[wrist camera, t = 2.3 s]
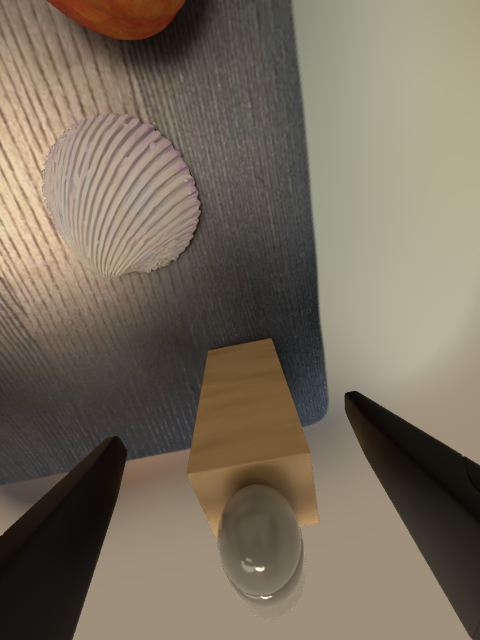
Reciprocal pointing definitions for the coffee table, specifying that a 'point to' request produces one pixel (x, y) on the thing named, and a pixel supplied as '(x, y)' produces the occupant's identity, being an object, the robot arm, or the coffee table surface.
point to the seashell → (120, 195)
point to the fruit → (121, 16)
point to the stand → (249, 433)
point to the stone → (262, 550)
